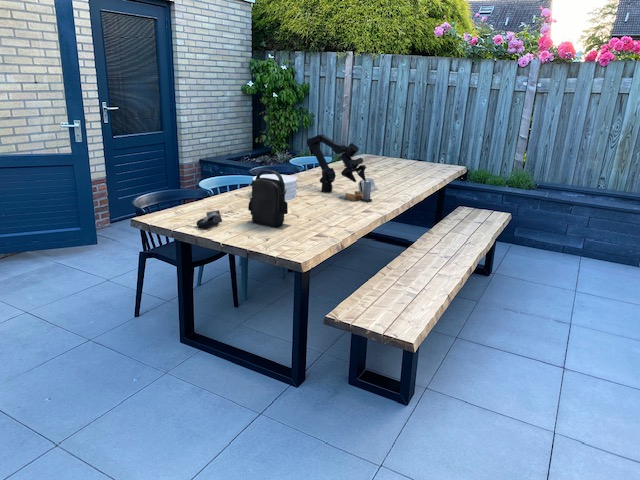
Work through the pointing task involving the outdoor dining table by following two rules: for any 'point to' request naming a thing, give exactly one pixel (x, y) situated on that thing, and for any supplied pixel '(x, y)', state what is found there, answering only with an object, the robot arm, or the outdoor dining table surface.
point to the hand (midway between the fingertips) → (360, 181)
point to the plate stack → (289, 184)
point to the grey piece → (366, 191)
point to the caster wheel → (210, 220)
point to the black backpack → (268, 201)
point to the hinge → (361, 185)
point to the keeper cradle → (353, 196)
